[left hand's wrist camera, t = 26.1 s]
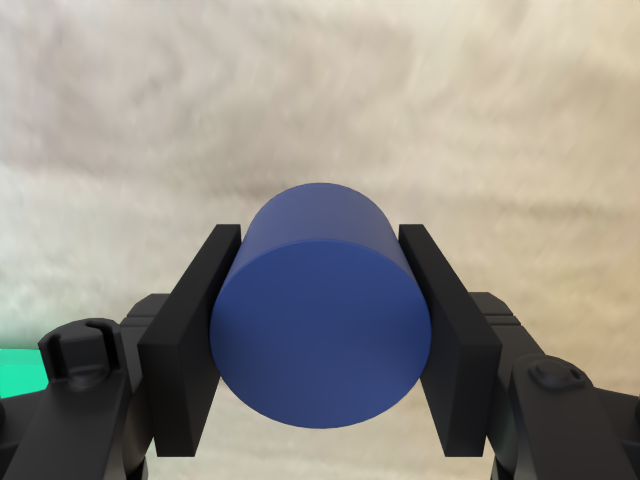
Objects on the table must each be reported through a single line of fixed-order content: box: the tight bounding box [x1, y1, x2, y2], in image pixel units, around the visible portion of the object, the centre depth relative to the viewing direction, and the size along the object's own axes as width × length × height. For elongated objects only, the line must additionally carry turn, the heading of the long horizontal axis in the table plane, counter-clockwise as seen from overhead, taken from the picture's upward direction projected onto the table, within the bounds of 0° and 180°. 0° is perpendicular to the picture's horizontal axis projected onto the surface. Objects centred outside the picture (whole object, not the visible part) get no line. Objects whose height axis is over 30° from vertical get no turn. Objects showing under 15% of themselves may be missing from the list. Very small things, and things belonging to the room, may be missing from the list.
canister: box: [209, 183, 432, 429], centre depth 12 cm, size 5×5×5 cm
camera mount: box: [0, 349, 49, 399], centre depth 25 cm, size 12×8×10 cm, turn 179°
